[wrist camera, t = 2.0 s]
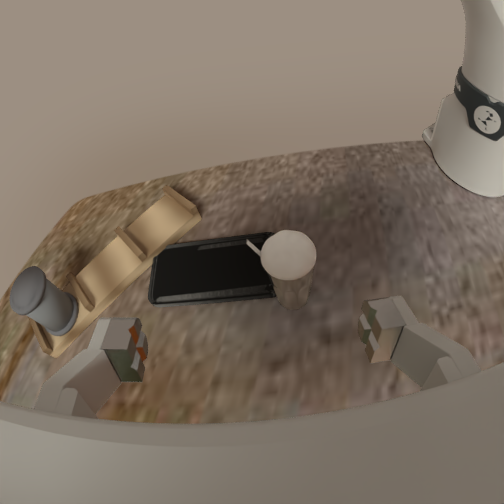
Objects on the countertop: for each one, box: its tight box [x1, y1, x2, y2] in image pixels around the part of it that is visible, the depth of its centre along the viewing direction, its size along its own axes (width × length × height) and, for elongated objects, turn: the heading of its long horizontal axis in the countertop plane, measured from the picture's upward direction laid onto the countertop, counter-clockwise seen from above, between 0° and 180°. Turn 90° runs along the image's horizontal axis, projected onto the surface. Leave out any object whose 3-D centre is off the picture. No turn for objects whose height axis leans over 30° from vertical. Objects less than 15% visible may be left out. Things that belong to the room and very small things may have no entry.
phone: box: [148, 232, 276, 307], centre depth 36 cm, size 8×1×15 cm
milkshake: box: [246, 230, 317, 310], centre depth 29 cm, size 4×5×10 cm
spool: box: [10, 266, 79, 336], centre depth 31 cm, size 6×6×7 cm
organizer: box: [28, 185, 202, 358], centre depth 37 cm, size 26×6×3 cm, turn 136°
